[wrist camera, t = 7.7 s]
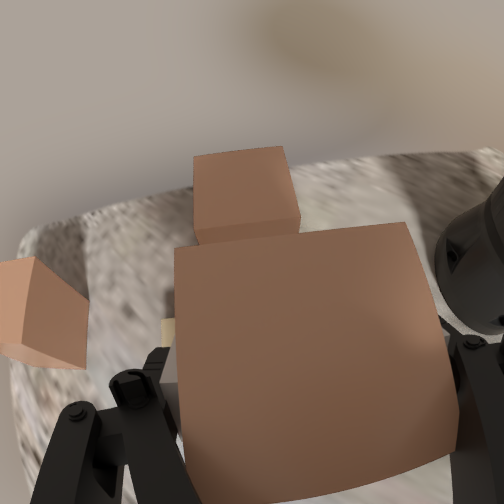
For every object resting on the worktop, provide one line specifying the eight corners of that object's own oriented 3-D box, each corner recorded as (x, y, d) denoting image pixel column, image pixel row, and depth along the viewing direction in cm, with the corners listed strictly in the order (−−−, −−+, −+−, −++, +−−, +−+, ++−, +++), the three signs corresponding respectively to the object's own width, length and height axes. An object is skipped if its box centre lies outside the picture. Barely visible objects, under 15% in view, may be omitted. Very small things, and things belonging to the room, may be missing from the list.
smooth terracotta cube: (342, 317, 19) (405, 221, 10) (363, 435, 15) (463, 446, 6) (219, 334, 18) (174, 248, 9) (232, 457, 15) (191, 507, 6)
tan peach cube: (89, 301, 30) (35, 256, 21) (85, 369, 27) (21, 343, 18) (39, 304, 30) (-16, 265, 21) (34, 366, 27) (-30, 340, 18)
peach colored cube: (279, 215, 35) (282, 145, 26) (291, 277, 31) (300, 216, 22) (211, 224, 34) (193, 156, 25) (215, 287, 31) (193, 230, 22)
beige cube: (214, 327, 29) (207, 314, 25) (218, 368, 27) (210, 361, 23) (173, 331, 29) (160, 319, 25) (174, 371, 27) (161, 365, 23)
